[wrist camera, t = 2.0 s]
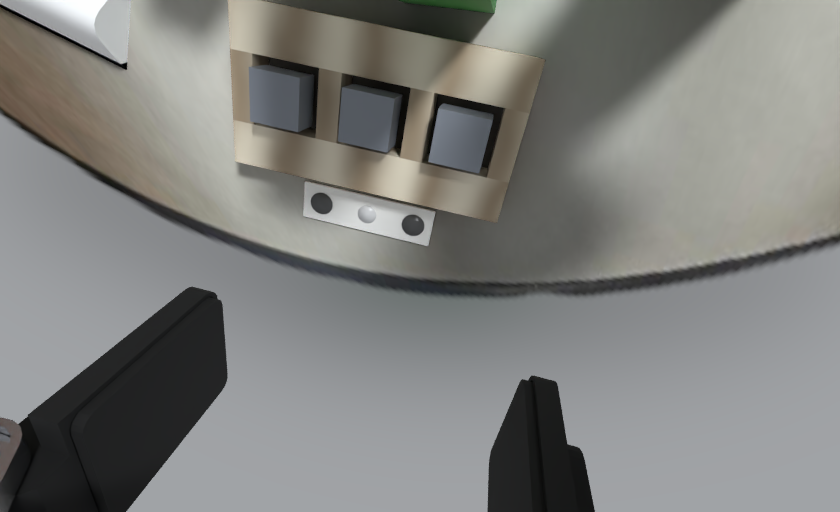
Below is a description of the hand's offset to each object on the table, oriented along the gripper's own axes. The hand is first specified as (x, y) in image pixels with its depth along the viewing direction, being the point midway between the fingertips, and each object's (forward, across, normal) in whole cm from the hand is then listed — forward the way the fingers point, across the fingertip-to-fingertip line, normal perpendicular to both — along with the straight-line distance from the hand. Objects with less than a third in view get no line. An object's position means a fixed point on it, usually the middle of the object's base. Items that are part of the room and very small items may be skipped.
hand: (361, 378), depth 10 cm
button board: (+32, +8, 0) cm, 33 cm away
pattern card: (+32, +8, +11) cm, 34 cm away
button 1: (+30, +16, 0) cm, 34 cm away
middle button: (+30, +8, 0) cm, 31 cm away
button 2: (+30, 0, 0) cm, 30 cm away
